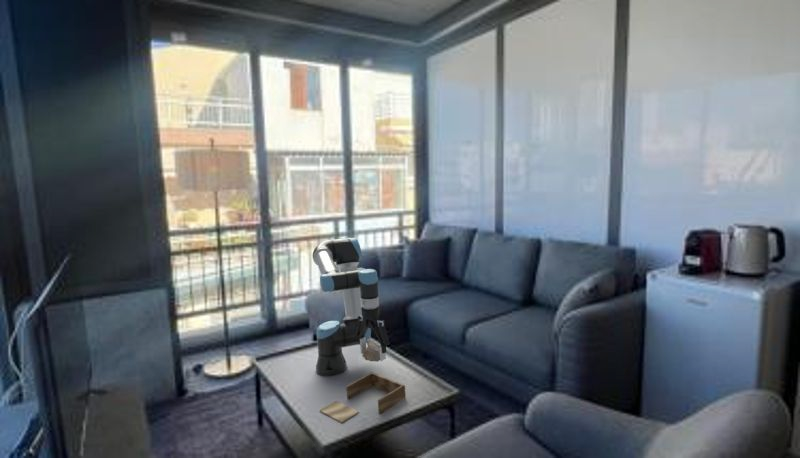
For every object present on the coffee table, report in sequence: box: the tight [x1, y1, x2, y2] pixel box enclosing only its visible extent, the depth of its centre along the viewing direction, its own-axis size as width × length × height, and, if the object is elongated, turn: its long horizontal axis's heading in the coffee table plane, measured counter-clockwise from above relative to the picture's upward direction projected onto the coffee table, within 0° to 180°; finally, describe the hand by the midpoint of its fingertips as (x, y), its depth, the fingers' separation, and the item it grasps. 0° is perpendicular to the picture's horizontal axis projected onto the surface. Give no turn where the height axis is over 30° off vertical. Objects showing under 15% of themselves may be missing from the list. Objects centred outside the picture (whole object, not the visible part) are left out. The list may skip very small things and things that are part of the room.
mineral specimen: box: [361, 338, 380, 362], centre depth 188 cm, size 13×7×6 cm, turn 27°
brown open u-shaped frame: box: [346, 371, 406, 415], centre depth 190 cm, size 20×16×6 cm
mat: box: [319, 400, 360, 424], centre depth 181 cm, size 14×9×1 cm, turn 49°
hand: (373, 356), depth 188 cm, fingers closed on mineral specimen, 11 cm apart
